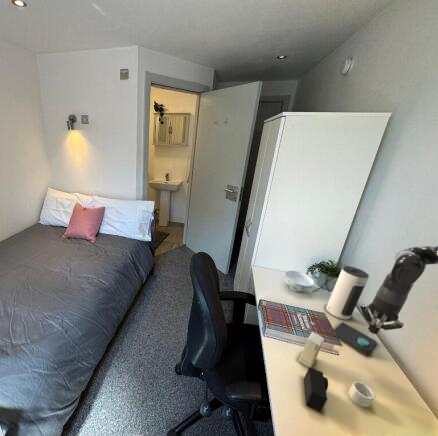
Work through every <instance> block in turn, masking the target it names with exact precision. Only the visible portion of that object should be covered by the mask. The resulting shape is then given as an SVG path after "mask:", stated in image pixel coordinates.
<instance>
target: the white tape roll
mask: <svg viewBox="0 0 438 436" xmlns="http://www.w3.org/2000/svg"><path fill="white" fill-rule="evenodd" d="M348 395H349V397H350V399H351V400H352V401H353V402H354V403H355V404H356V405H358V406H360V407H361V408H362V407H363V408H370V406H371V405H372V403H373V402H374V400H375V398H376V394H375V391H374V390H373V389H372V388H371V387H370V386H369V385H367V384H366V383H364V382H361V381H358V380H355V381H353V383H352V384H351V385H350V387H349V389H348Z"/></svg>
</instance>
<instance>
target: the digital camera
mask: <svg viewBox="0 0 438 436" xmlns="http://www.w3.org/2000/svg"><path fill="white" fill-rule="evenodd" d="M303 387H304V388H303V389H304V397H305V398H304V399H305V406H307V407H309V408H311V409H313V410H315V411H316V412H319V413H322V410H323V409H324V407H325V405H326V403H327V402H328V394H327V391H328V389H329V379H328V378H327V377H325V376H324V372H322V371H320V370H318V369H315V368H313V367H308V368H307V370H306V373H305V375H304V377H303Z"/></svg>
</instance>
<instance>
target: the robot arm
mask: <svg viewBox="0 0 438 436" xmlns="http://www.w3.org/2000/svg"><path fill="white" fill-rule="evenodd" d="M394 260H395V262H394V264H393V267H392V269H391V270H390V272H388V273H387V274H386V276H385V278H384V280H383V281H382V284H380V286H379V288H378V290H377V291H376V293H375V296H374V298H373V300H372V302H371V303H369V304H364V303H362V304H361V305H360V307H359V308H360V311H361V312H362V314H363V316H364V319H365V321H367V322H369V323H370V324H369V326H368V328H367V330H368V332H369V333H370V334H373V335H377V334H378V333H379V332H380V330H384V331H390V330H398V329H399V330H400V329H402V328H403V327H404V325H405V323H403V322H401V321H400V320H399V314H400V313H401V311H402V309H403V307H404V305H405V304H406V301H407V300H408V297H409V294H410V292H411V290H412V289H413V287H414V284H415V283H416V282H417V281H418V280H419V278H420V277H421V276H422V275H423V274H424V271H425V270H426V267H427V266H429V265H438V245H425V246H412V247H407V248H402V249H399V250H398V251H397V252H396V253H395V255H394ZM390 322H392V323H390ZM385 323H388V324H385Z"/></svg>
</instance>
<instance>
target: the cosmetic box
mask: <svg viewBox="0 0 438 436" xmlns="http://www.w3.org/2000/svg"><path fill="white" fill-rule="evenodd" d="M324 340H325V338H324V337H323V336H321V335H320V334H318V333H316V332H315V331H311V333H310V335H309V336H308V337H307V339H306V341H305V345H304V347H303V349H302V352H301V354H300V357H299V359H298V361H299V362H300V363H301V364H303V365H304V366H306V367H308V368H309V367H311V368H313V365H314V363H315V361H316V359H317V357H318V355H319V352H320V350H321V348H322V345H323V343H324Z"/></svg>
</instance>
